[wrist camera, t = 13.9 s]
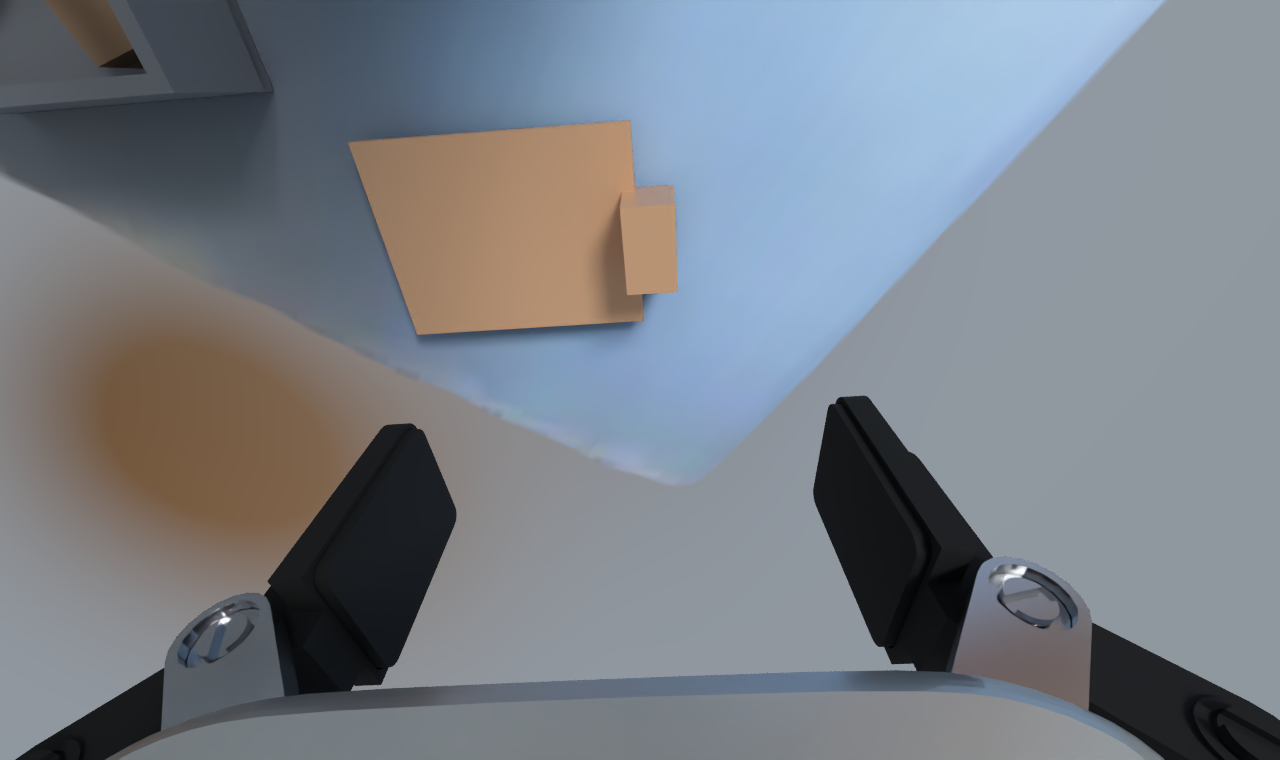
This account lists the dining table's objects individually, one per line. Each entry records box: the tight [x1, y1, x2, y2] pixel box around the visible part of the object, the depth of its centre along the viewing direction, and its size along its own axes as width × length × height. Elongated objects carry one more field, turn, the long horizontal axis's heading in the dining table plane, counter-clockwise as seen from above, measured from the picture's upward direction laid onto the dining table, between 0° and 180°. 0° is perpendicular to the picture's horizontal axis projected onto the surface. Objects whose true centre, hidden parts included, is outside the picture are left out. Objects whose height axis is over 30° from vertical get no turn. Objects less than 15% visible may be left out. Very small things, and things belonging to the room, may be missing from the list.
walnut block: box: [44, 0, 143, 69], centre depth 24 cm, size 4×4×2 cm
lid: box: [348, 120, 677, 335], centre depth 29 cm, size 19×13×7 cm, turn 94°
